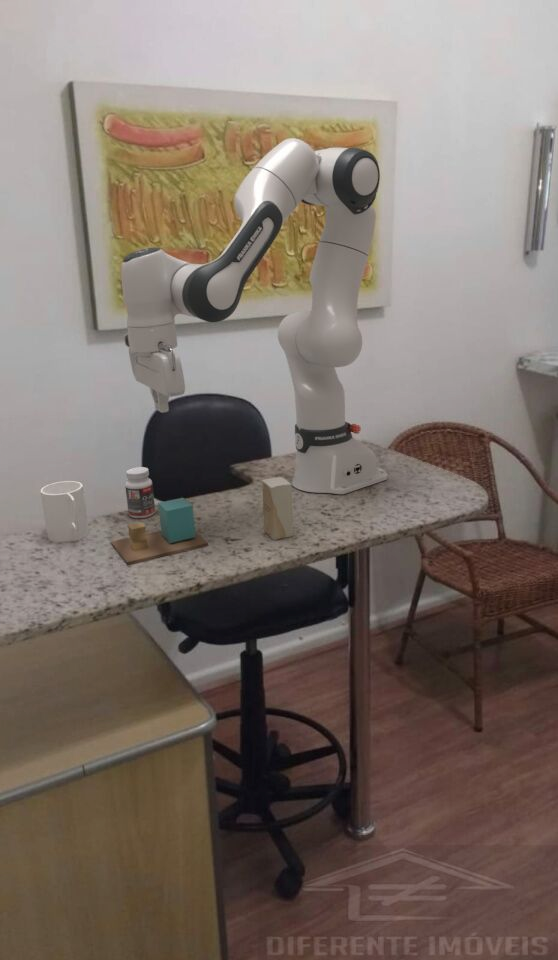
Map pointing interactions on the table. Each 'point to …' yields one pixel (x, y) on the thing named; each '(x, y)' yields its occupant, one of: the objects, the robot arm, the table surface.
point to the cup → (65, 511)
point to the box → (277, 507)
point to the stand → (152, 545)
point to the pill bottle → (139, 493)
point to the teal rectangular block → (176, 520)
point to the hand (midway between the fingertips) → (162, 410)
